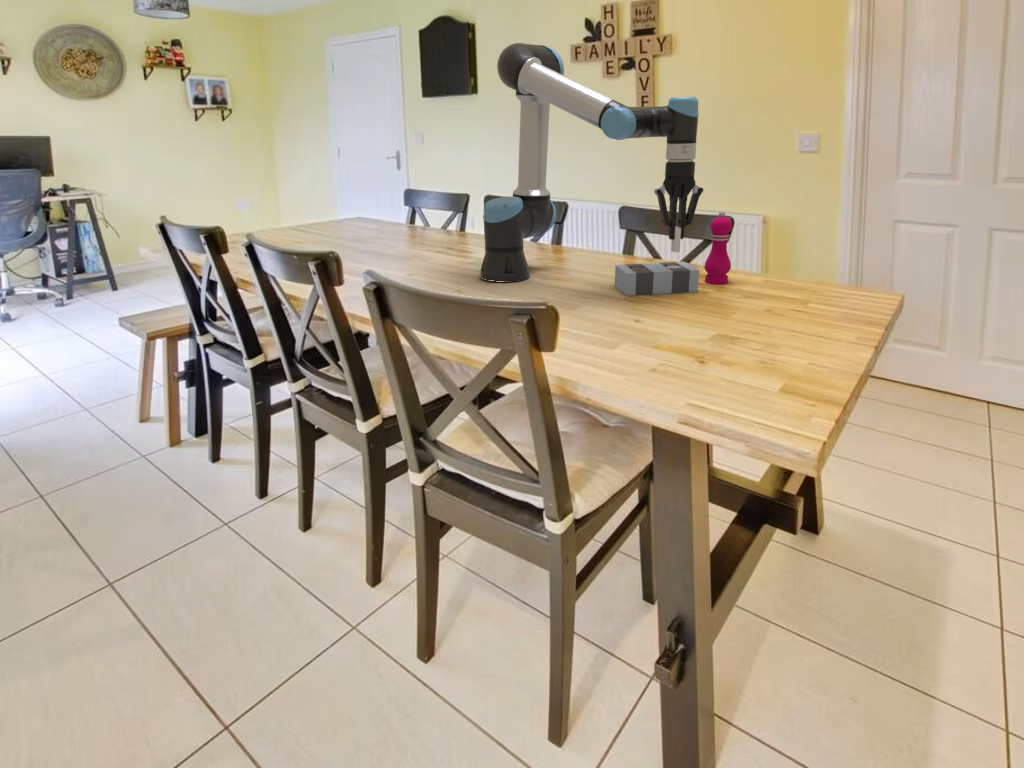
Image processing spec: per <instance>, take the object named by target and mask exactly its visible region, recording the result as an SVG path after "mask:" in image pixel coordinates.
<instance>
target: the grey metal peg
mask: <svg viewBox="0 0 1024 768" xmlns="http://www.w3.org/2000/svg"><path fill="white" fill-rule="evenodd" d="M667 268H668V269H672V268H681V266H677V265H670V266H667Z"/></svg>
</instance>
